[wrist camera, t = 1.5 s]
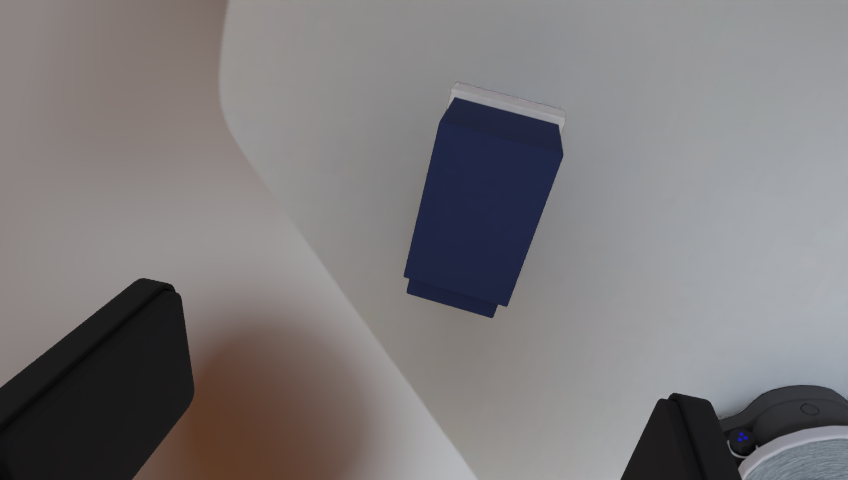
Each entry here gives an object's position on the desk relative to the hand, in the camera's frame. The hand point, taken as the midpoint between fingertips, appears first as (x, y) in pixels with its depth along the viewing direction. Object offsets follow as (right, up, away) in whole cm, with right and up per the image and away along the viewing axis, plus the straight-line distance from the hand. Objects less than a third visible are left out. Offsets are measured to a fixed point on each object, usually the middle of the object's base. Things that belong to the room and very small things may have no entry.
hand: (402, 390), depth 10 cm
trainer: (+3, +5, +15) cm, 17 cm away
